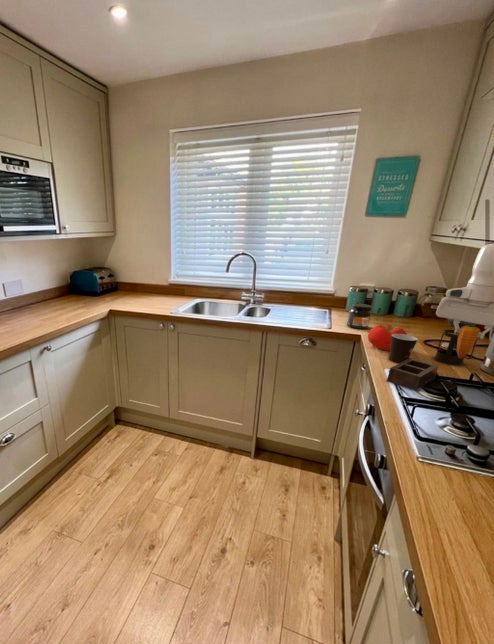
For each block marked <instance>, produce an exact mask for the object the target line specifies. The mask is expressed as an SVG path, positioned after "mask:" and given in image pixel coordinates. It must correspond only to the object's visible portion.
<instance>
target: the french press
mask: <svg viewBox="0 0 494 644" xmlns="http://www.w3.org/2000/svg"><path fill="white" fill-rule="evenodd" d="M446 320H447V323H448V325H449V326H450V327H452V328H455V327H454V324H453V321H454V320H453V319H448V318H446ZM458 325H459V328H462V327H463V326H466V325H469V322H464V321H460V323H458ZM454 332H455V329H443V331H442V334H441V337H440V340H439V344H438V347H437V350H436V353H435V356H434V358H433V359H434V361H436V362H439V363H441V364H445V365H449V366H463V365H464V360H465V359H467V360H471V359H472V357H473V355H474V351H475V349H476V347H477V343H478V341H479V338H477V340H476V342H475V344H474V346H473V347H472V349H471V353H470V355H469V356H467V355H466V356H464V357H463V358H461V359H460V358H459V357H458V354H457V340H458V336H459V334H455V333H454ZM444 336H445V337H448V338H450V340H449V342H442V341H443V338H444ZM440 348H443V349H440Z"/></svg>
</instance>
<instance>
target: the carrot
mask: <svg viewBox="0 0 494 644" xmlns="http://www.w3.org/2000/svg"><path fill="white" fill-rule="evenodd" d="M477 325H478V324H475V323H471V322H469V325H466V326H463V327H462V328H461V330H460V333H459V336H458V340H457V351H456V352H457V354H458V357H459V358H460V359H461V358H463V357H464V356H466V357H467V355H468V354H469V353H470V352H471V351H472V350H473V347H474V344H475V342H476V340H477V338H476V337H477V334H478V333H479V332H481V329H480V328H479V327H478V326H477Z"/></svg>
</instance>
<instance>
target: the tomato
mask: <svg viewBox="0 0 494 644" xmlns="http://www.w3.org/2000/svg"><path fill="white" fill-rule="evenodd" d="M392 334H405V335H408V334H407V332H406V330H405V329H404V328H402V327H400V326H396V327H395V326H391V324H385V325H381V324H377V325H375V326H374V327H372V328H371V329H370V330H369V332H368V334H367V340H368V341H369V343H370V344H371V345H372V346H373V347H375V348H377V349H379V350H385V351H390V345H391V336H392Z"/></svg>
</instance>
